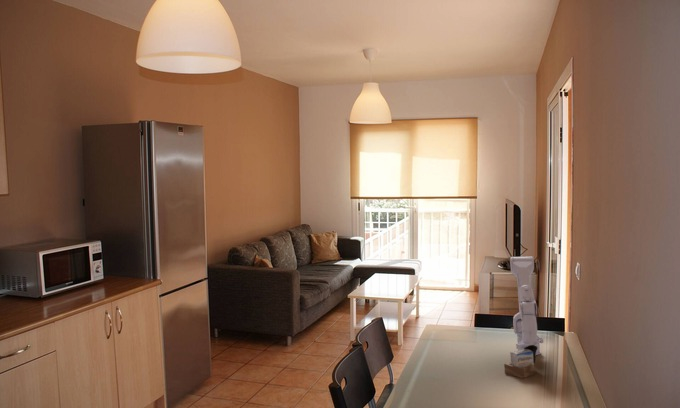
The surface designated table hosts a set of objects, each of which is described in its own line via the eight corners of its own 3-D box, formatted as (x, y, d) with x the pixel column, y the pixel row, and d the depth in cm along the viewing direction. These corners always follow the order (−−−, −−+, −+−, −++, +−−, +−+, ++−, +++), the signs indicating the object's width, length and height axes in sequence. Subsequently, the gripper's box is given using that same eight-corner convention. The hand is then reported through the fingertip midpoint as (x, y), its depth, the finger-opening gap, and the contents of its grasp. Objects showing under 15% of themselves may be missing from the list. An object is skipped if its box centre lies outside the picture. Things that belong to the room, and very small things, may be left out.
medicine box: (518, 375, 216) (516, 354, 216) (511, 372, 221) (509, 351, 220) (534, 372, 219) (533, 350, 218) (528, 368, 223) (526, 348, 223)
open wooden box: (516, 368, 224) (516, 360, 224) (534, 374, 217) (534, 365, 217) (504, 372, 221) (504, 364, 220) (522, 378, 213) (522, 369, 213)
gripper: (525, 335, 215) (527, 369, 215) (548, 328, 223) (550, 361, 223) (511, 332, 221) (513, 365, 221) (534, 325, 229) (536, 357, 229)
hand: (531, 363), depth 222 cm, fingers closed, pressing on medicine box
